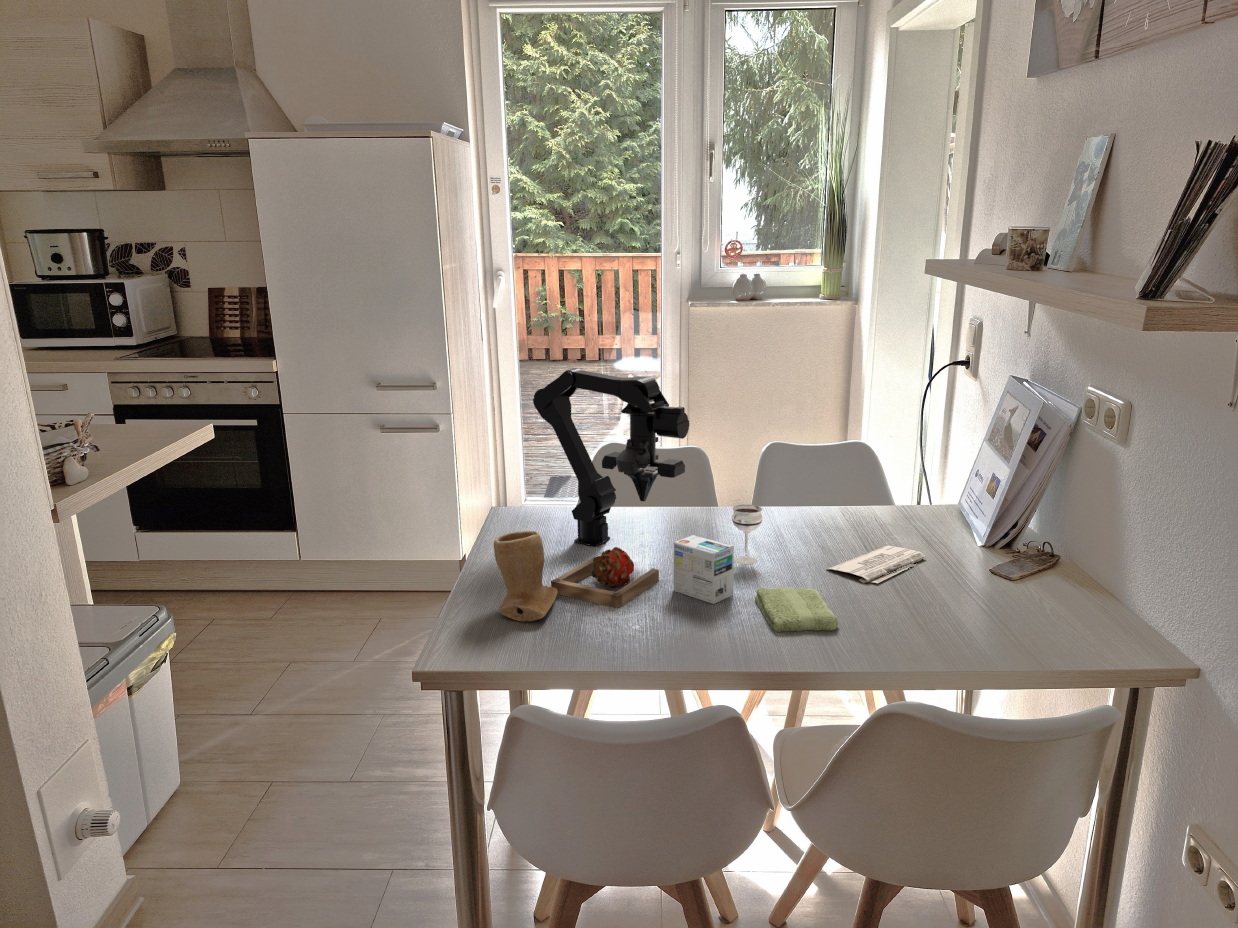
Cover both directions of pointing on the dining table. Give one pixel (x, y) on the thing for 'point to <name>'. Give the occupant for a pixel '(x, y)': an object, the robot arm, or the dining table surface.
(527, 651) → the dining table surface
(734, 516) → the wineglass
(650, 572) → the frame
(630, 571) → the dragon fruit
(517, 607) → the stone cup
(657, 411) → the robot arm
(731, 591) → the light bulb box
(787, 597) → the washcloth
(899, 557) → the newspaper
